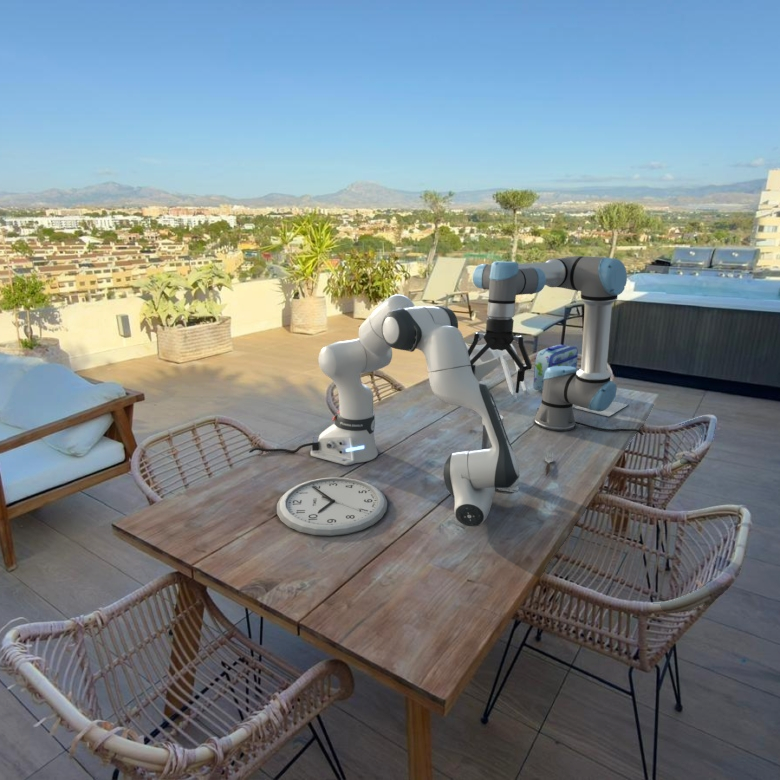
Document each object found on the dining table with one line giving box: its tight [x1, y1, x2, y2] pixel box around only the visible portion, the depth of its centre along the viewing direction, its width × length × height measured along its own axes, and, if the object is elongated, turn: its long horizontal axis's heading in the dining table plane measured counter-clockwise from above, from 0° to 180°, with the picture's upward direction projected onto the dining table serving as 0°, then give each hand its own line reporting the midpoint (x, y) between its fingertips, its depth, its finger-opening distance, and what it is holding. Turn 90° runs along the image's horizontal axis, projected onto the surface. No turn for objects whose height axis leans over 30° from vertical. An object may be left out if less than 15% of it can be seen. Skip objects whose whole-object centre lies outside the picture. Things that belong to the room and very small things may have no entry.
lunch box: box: [533, 344, 579, 392], centre depth 247 cm, size 26×11×21 cm, turn 134°
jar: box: [480, 424, 492, 450], centre depth 160 cm, size 5×5×19 cm
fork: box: [544, 451, 555, 476], centre depth 168 cm, size 3×16×2 cm, turn 160°
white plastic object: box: [464, 342, 531, 400], centre depth 245 cm, size 37×45×31 cm
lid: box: [481, 413, 504, 426], centre depth 157 cm, size 6×6×2 cm
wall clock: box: [276, 476, 388, 537], centre depth 142 cm, size 30×2×30 cm
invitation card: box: [573, 400, 629, 418], centre depth 226 cm, size 21×1×15 cm
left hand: (486, 466), depth 154 cm, fingers open, 8 cm apart
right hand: (494, 389), depth 155 cm, fingers open, 12 cm apart
